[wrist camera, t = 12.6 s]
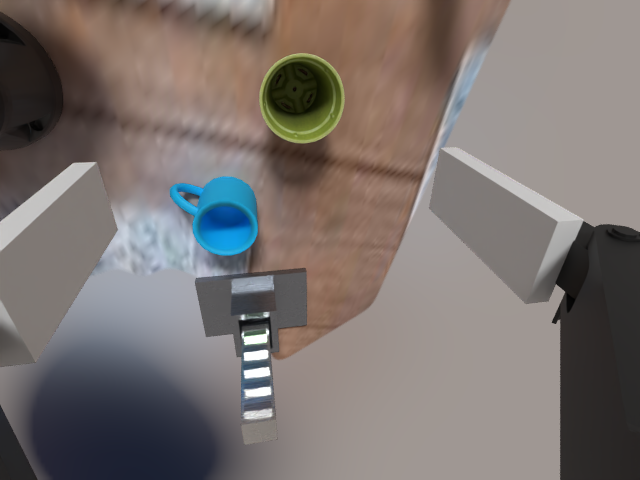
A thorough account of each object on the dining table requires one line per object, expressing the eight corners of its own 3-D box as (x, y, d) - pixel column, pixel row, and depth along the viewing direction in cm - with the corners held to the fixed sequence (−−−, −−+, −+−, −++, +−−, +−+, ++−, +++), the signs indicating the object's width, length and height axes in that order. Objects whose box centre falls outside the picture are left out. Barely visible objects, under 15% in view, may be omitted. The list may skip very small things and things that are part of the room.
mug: (266, 192, 54) (269, 217, 47) (240, 235, 56) (240, 264, 49) (187, 152, 49) (177, 173, 42) (163, 201, 51) (151, 228, 45)
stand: (206, 332, 65) (201, 377, 57) (195, 278, 59) (187, 319, 50) (305, 320, 68) (314, 361, 59) (305, 267, 62) (314, 305, 53)
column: (244, 348, 57) (244, 448, 44) (241, 322, 55) (240, 420, 41) (270, 345, 58) (277, 443, 44) (267, 319, 55) (275, 415, 42)
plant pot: (309, 137, 50) (320, 156, 43) (245, 106, 47) (245, 121, 40) (341, 72, 47) (359, 81, 40) (275, 33, 43) (282, 34, 36)
